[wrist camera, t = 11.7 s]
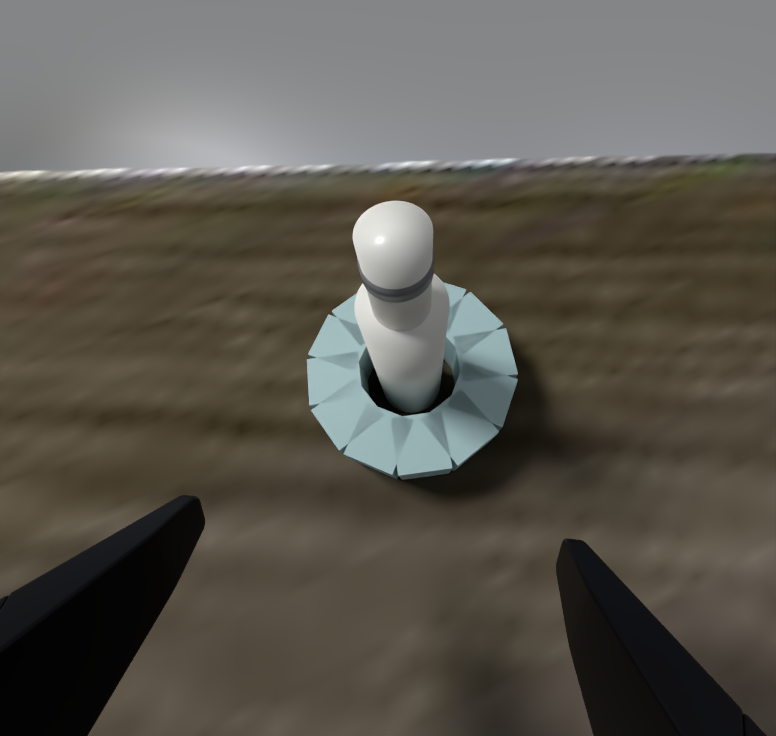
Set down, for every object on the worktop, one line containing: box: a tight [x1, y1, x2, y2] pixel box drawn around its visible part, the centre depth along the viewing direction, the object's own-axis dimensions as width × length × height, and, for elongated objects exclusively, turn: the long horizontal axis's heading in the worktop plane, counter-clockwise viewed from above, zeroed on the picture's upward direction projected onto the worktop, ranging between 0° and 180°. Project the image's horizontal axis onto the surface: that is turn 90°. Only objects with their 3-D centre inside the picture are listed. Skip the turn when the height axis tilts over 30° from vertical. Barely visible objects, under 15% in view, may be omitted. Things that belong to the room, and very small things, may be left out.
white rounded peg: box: [353, 201, 450, 413], centre depth 15 cm, size 3×3×12 cm
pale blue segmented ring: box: [307, 283, 518, 480], centre depth 19 cm, size 10×10×3 cm
